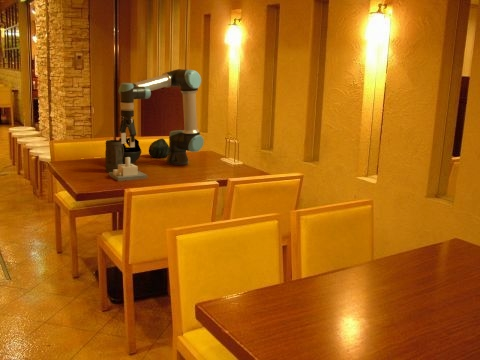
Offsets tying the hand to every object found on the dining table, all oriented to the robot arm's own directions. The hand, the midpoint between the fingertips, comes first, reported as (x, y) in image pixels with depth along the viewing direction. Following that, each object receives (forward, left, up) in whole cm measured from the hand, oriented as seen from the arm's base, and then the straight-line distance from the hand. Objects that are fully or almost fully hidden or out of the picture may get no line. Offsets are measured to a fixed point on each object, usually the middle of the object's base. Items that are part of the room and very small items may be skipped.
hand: (127, 145), depth 296 cm
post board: (0, 0, -19) cm, 19 cm away
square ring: (+2, 0, -17) cm, 17 cm away
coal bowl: (-13, -35, -20) cm, 42 cm away
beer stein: (0, -20, -20) cm, 28 cm away
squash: (-45, -51, -20) cm, 71 cm away
